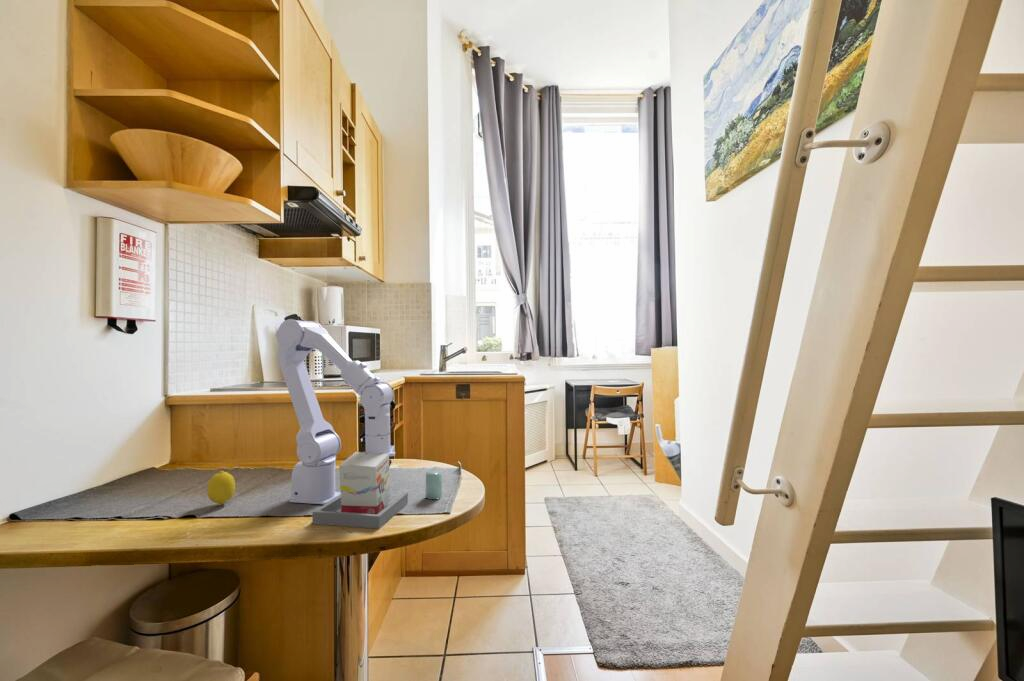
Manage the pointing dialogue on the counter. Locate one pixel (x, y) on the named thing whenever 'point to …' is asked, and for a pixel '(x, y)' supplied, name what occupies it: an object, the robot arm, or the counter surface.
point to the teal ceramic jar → (433, 484)
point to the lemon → (221, 487)
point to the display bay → (356, 514)
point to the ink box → (365, 483)
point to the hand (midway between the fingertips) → (379, 491)
